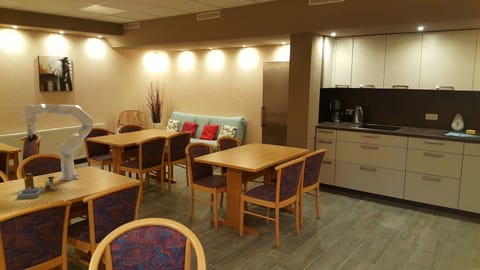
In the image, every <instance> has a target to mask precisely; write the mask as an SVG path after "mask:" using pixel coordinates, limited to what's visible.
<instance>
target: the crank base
mask: <svg viewBox="0 0 480 270" xmlns="http://www.w3.org/2000/svg"><path fill="white" fill-rule="evenodd" d="M39 189H41V190H42V193H47V192H56V191H58V189H59V186H57V187H56V186H55V187H53V186H51V187H50V188H46V187H42V188H39ZM28 190H31V187H28Z"/></svg>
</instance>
